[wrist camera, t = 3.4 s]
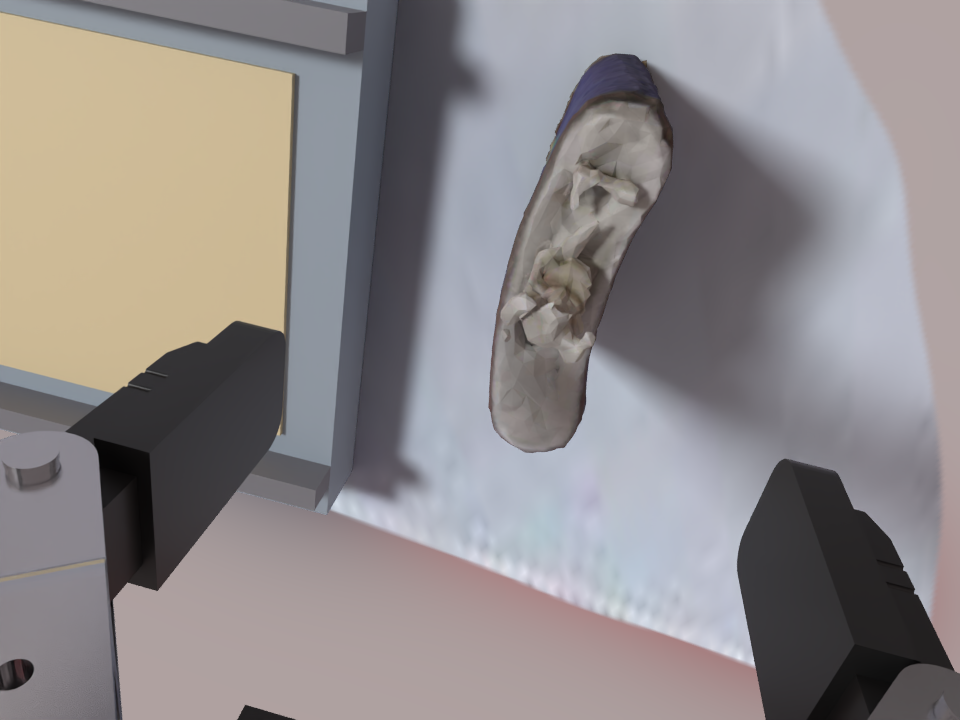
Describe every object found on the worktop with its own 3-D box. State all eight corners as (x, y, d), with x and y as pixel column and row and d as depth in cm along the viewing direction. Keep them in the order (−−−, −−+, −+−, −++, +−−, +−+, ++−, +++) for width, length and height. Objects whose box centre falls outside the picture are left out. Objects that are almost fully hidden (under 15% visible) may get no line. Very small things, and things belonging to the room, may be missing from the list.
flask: (585, 326, 26) (558, 515, 17) (508, 305, 26) (440, 480, 17) (671, 61, 22) (702, 118, 12) (578, 37, 22) (537, 75, 12)
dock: (-133, -151, 23) (-291, -178, 19) (402, -47, 21) (352, -54, 18) (-22, 374, 33) (-110, 427, 29) (351, 470, 31) (312, 540, 27)
